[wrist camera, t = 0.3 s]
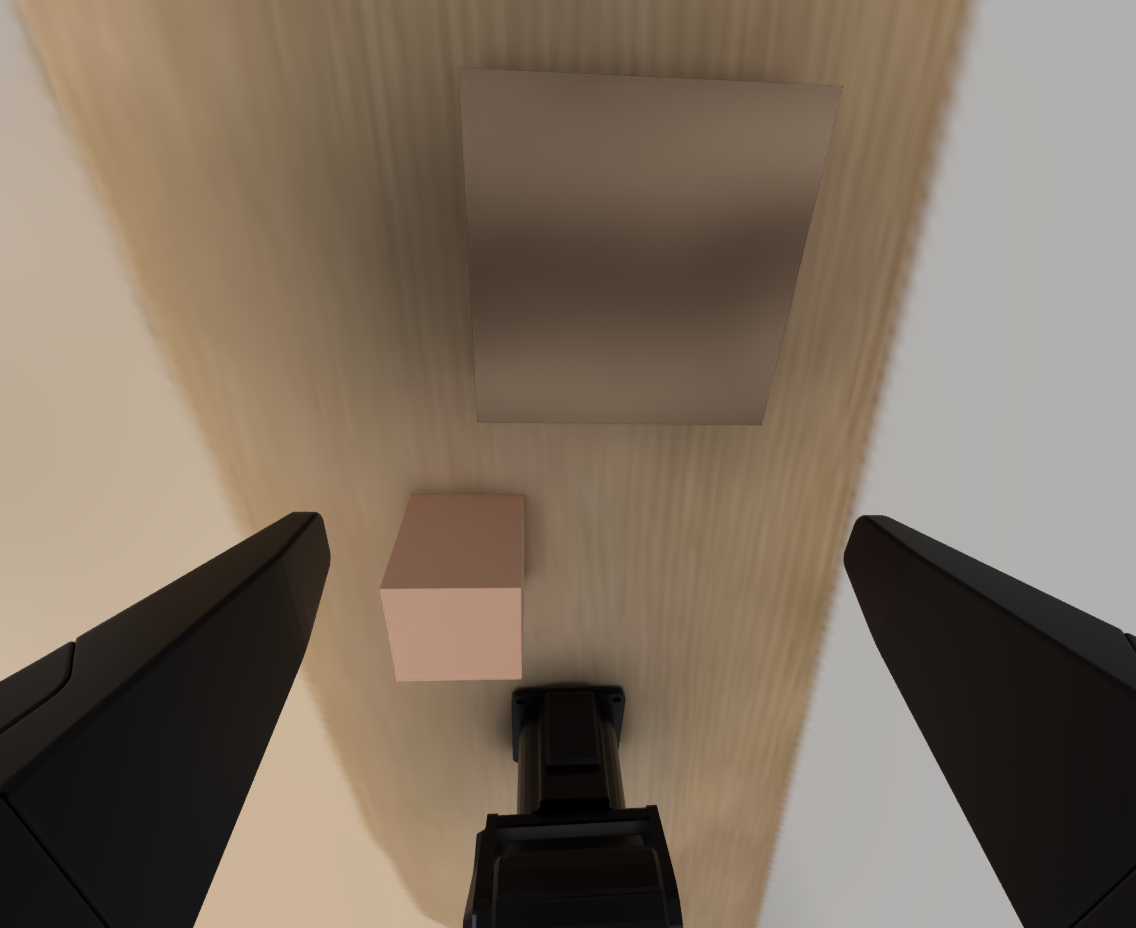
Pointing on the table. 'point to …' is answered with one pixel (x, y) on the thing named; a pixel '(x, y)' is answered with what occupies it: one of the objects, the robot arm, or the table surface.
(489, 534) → the terracotta block
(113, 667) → the robot arm
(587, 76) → the block
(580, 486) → the table surface
